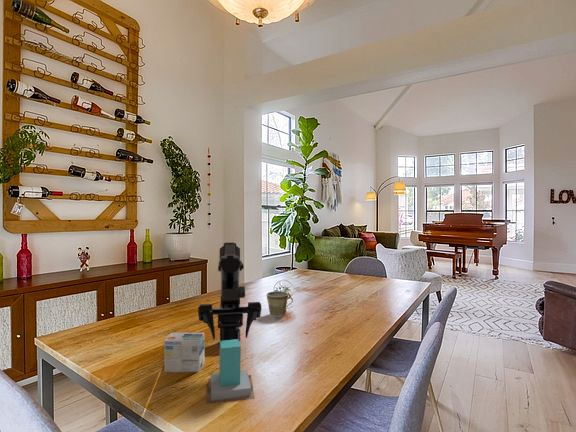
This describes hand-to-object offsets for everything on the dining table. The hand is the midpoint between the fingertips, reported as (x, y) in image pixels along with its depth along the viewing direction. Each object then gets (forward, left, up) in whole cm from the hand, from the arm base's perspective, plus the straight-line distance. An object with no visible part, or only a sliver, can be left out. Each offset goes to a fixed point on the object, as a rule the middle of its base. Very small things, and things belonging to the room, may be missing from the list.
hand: (230, 338), depth 95 cm
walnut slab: (+3, -7, -13) cm, 14 cm away
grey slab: (+3, -6, -11) cm, 13 cm away
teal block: (+2, -7, -9) cm, 11 cm away
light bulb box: (-15, +1, -12) cm, 20 cm away
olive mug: (+1, +58, -12) cm, 60 cm away
